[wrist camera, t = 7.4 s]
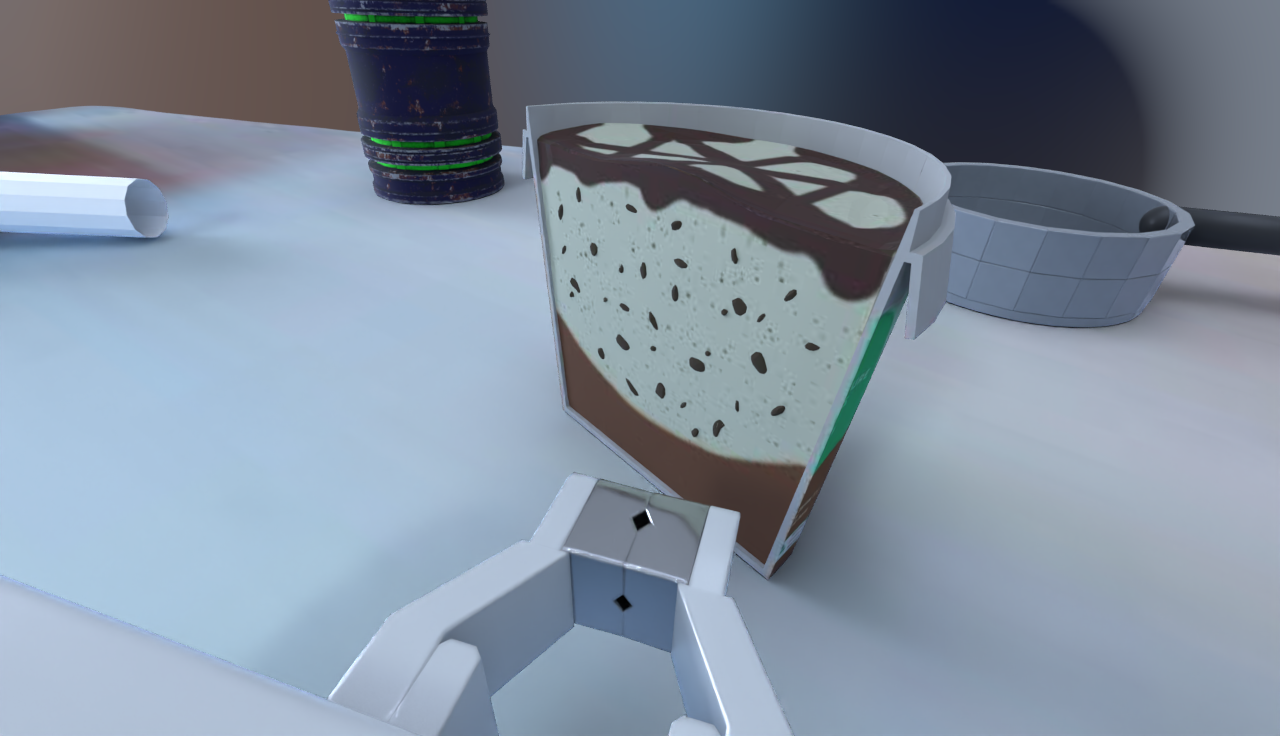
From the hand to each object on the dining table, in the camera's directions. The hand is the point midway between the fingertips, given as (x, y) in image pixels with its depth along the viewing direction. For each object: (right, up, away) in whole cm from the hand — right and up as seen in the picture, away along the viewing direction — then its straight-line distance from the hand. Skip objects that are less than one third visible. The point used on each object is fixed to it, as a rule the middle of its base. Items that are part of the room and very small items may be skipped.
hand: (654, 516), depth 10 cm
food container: (+2, 0, +9) cm, 10 cm away
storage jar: (-16, +17, +34) cm, 41 cm away
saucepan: (+21, +8, +22) cm, 31 cm away
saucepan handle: (+31, +8, +18) cm, 37 cm away
